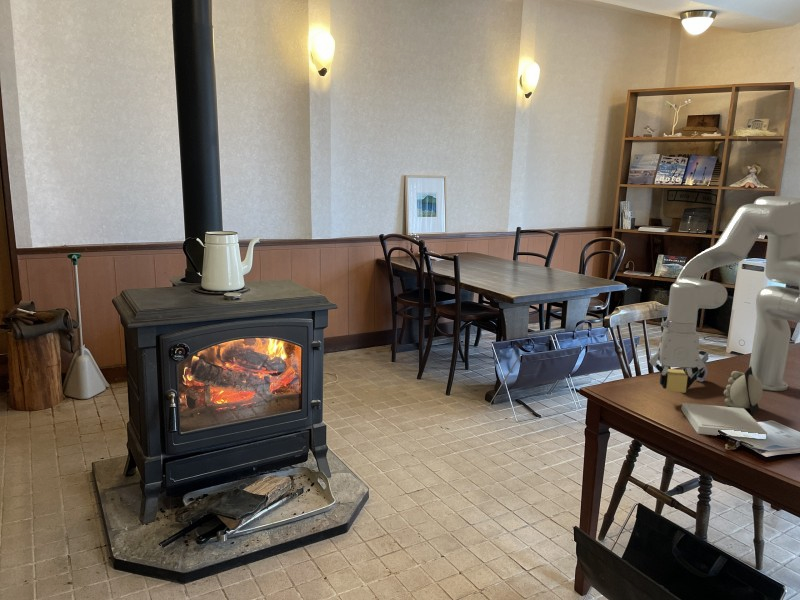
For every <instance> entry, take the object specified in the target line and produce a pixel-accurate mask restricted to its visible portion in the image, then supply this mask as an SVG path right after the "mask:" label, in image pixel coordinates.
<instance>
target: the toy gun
mask: <svg viewBox="0 0 800 600" xmlns="http://www.w3.org/2000/svg"><path fill="white" fill-rule="evenodd" d="M699 357H700V358H701V360H702V361H703V362H704V364H705V367H703V368H701V369H699V370H698V371H697V372H696V373H694V374H693V376H692V377H691V379H690V386H688V389H689V388H691V386H692V384H693V383H694V382H695V381H696V382H698V381H699V383H704V381H705V379H706V377H707V376H708V367H707V364H706V363H707V361H709V352H708V351H704V350H701V349H699ZM681 370H683V371H684V372H685V368H682V369H681Z"/></svg>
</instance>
